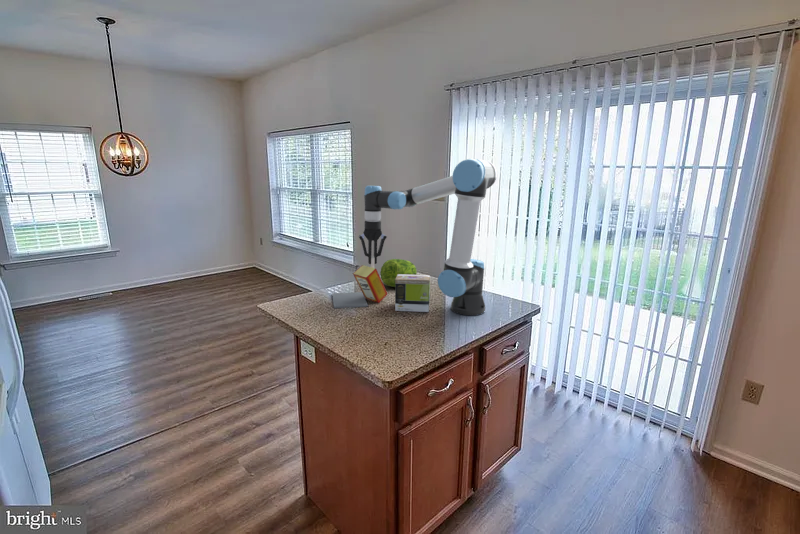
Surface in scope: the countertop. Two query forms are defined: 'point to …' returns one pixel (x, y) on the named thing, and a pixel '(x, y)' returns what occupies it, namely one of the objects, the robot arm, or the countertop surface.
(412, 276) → the tea box
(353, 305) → the mat
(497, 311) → the countertop surface
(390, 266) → the lettuce
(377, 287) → the baking soda box
